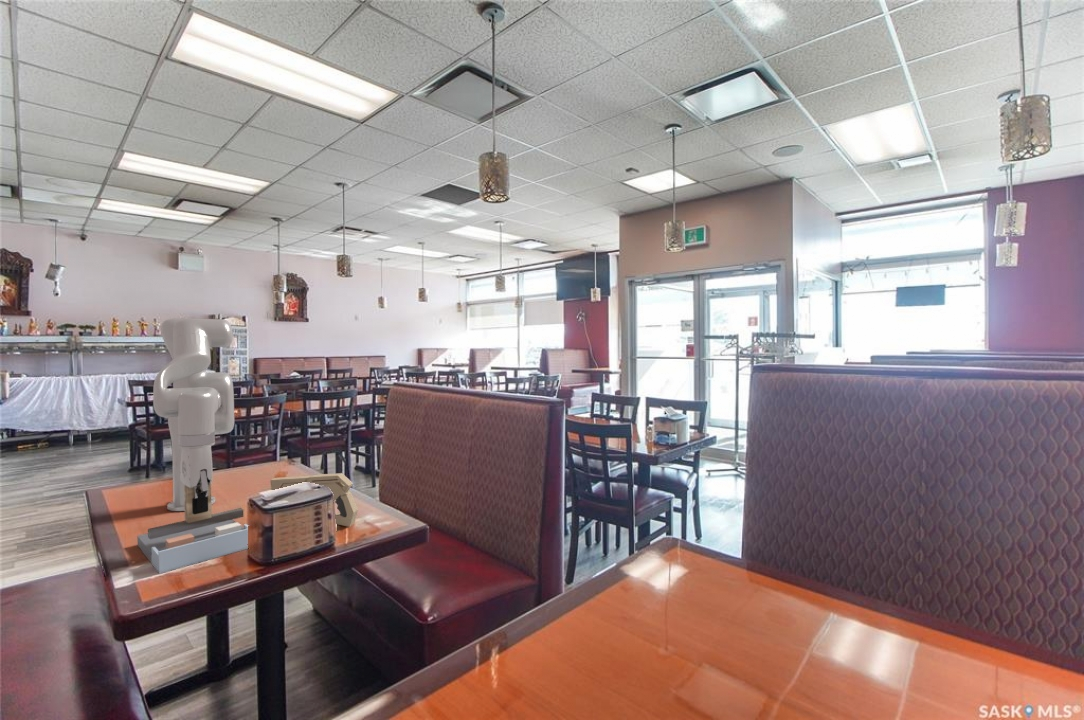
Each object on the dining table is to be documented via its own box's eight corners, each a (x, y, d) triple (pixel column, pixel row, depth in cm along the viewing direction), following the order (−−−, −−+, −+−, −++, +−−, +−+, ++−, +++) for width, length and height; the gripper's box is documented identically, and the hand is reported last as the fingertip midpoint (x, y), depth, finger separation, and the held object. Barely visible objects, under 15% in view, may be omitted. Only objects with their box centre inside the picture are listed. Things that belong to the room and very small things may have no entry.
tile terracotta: (165, 539, 115) (168, 543, 113) (190, 533, 119) (194, 536, 117) (166, 560, 115) (169, 564, 113) (191, 553, 119) (194, 557, 117)
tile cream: (215, 527, 123) (218, 530, 121) (237, 522, 127) (241, 524, 125) (215, 546, 123) (219, 550, 121) (237, 541, 127) (241, 544, 125)
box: (151, 563, 115) (150, 542, 115) (245, 538, 130) (245, 519, 130) (159, 573, 110) (159, 552, 109) (256, 546, 125) (256, 527, 125)
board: (137, 545, 125) (137, 535, 125) (226, 523, 140) (226, 515, 140) (150, 562, 115) (150, 552, 115) (244, 537, 130) (244, 528, 130)
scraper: (147, 536, 118) (146, 491, 117) (240, 514, 133) (239, 474, 132) (150, 540, 116) (149, 494, 115) (244, 517, 131) (243, 477, 130)
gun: (359, 522, 141) (355, 472, 141) (354, 527, 138) (349, 475, 138) (281, 526, 144) (276, 476, 143) (274, 531, 140) (269, 479, 140)
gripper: (170, 436, 125) (171, 506, 126) (188, 447, 115) (189, 523, 116) (204, 432, 131) (205, 499, 132) (224, 442, 120) (225, 515, 121)
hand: (198, 510), depth 124 cm, fingers closed on scraper, 3 cm apart
